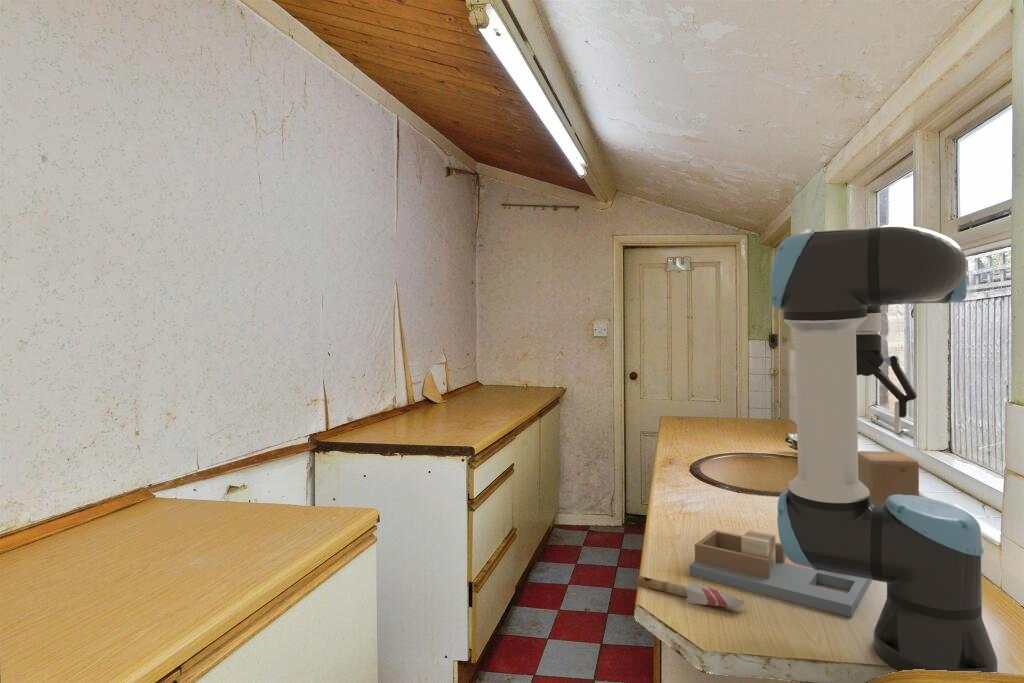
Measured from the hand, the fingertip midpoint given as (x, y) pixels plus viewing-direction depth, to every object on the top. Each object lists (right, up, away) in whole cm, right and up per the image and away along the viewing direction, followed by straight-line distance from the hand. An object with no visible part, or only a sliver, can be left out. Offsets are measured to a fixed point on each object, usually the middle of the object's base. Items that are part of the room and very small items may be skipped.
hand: (861, 429), depth 134 cm
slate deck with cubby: (-25, -27, -13) cm, 39 cm away
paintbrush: (-45, -28, -22) cm, 57 cm away
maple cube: (-28, -25, -13) cm, 40 cm away
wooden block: (+7, -26, +3) cm, 27 cm away
